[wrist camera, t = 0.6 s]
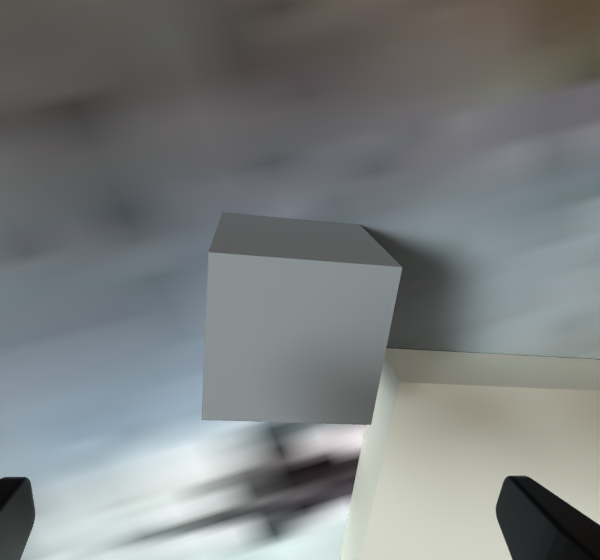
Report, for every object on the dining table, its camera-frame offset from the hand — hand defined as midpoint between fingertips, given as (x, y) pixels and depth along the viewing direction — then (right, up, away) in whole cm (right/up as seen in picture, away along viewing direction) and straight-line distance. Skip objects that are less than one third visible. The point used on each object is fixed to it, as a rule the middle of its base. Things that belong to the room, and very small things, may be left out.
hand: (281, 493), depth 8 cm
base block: (+10, -7, +17) cm, 21 cm away
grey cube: (0, +4, +12) cm, 12 cm away
